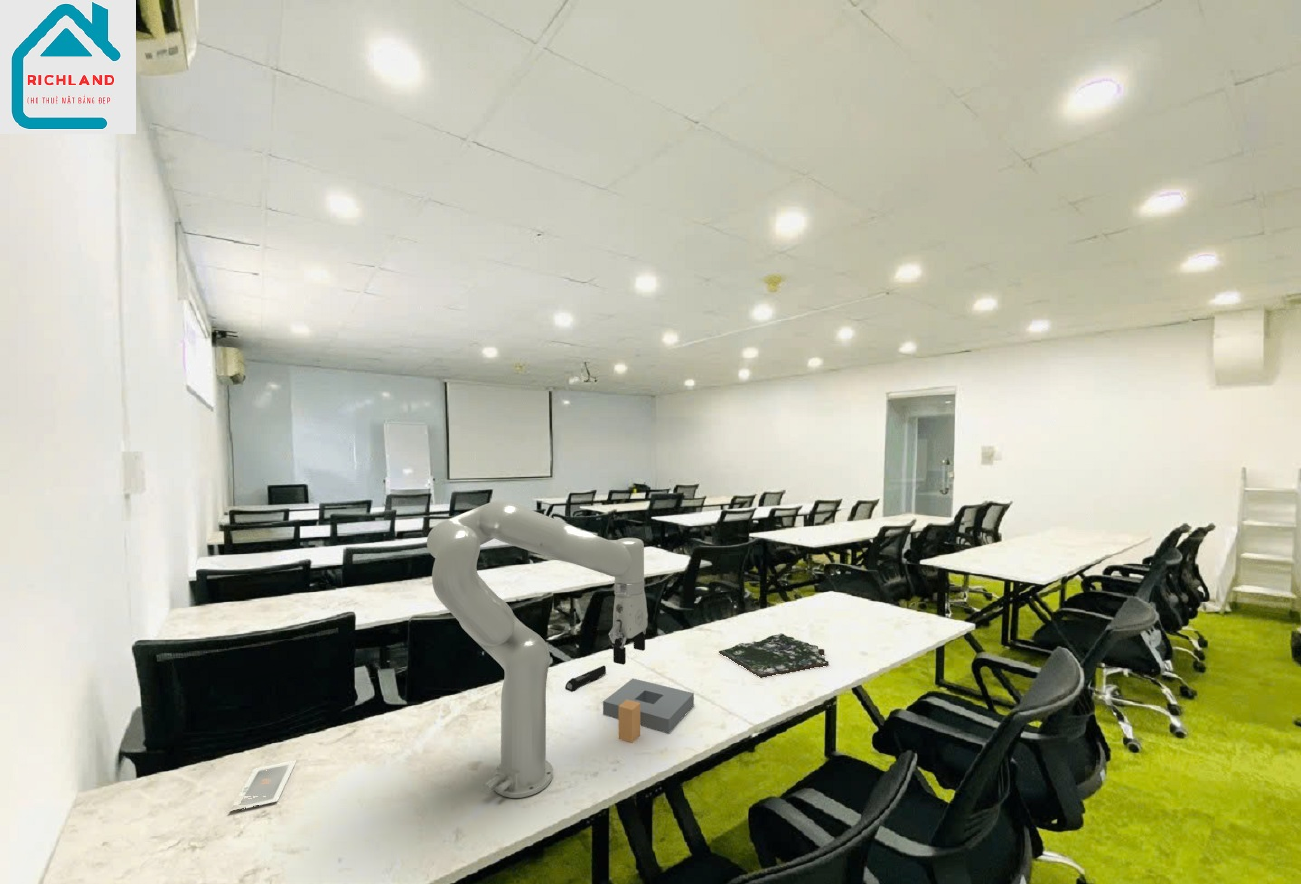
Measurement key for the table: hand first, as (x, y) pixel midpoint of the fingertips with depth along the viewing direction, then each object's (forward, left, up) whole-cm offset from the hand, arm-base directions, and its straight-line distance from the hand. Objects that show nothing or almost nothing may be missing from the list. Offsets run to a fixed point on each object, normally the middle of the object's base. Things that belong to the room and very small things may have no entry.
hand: (629, 656), depth 124 cm
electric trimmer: (+20, +28, -21) cm, 40 cm away
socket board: (+14, +2, -20) cm, 24 cm away
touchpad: (-53, +59, -21) cm, 82 cm away
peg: (0, 0, -20) cm, 20 cm away
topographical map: (+67, -21, -21) cm, 73 cm away
